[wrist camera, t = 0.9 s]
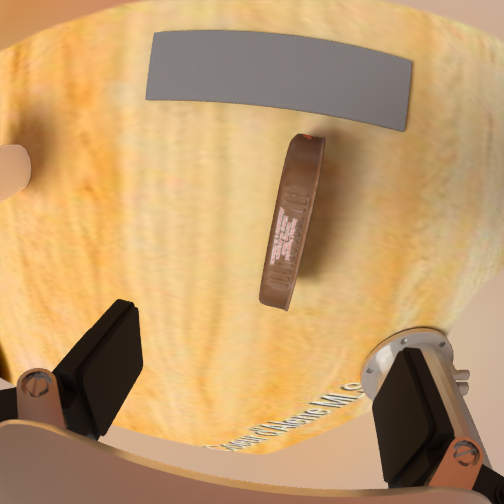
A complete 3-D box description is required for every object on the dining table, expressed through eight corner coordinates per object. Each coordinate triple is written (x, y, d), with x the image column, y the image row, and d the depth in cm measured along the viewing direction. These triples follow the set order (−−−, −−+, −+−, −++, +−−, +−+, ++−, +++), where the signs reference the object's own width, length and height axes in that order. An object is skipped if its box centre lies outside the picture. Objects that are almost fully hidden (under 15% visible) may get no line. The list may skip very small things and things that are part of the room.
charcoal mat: (408, 62, 23) (411, 61, 22) (400, 131, 26) (404, 131, 25) (158, 35, 25) (154, 32, 24) (149, 100, 28) (145, 99, 27)
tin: (292, 284, 33) (290, 332, 25) (262, 278, 33) (251, 324, 25) (324, 137, 27) (336, 140, 19) (290, 130, 27) (289, 130, 20)
